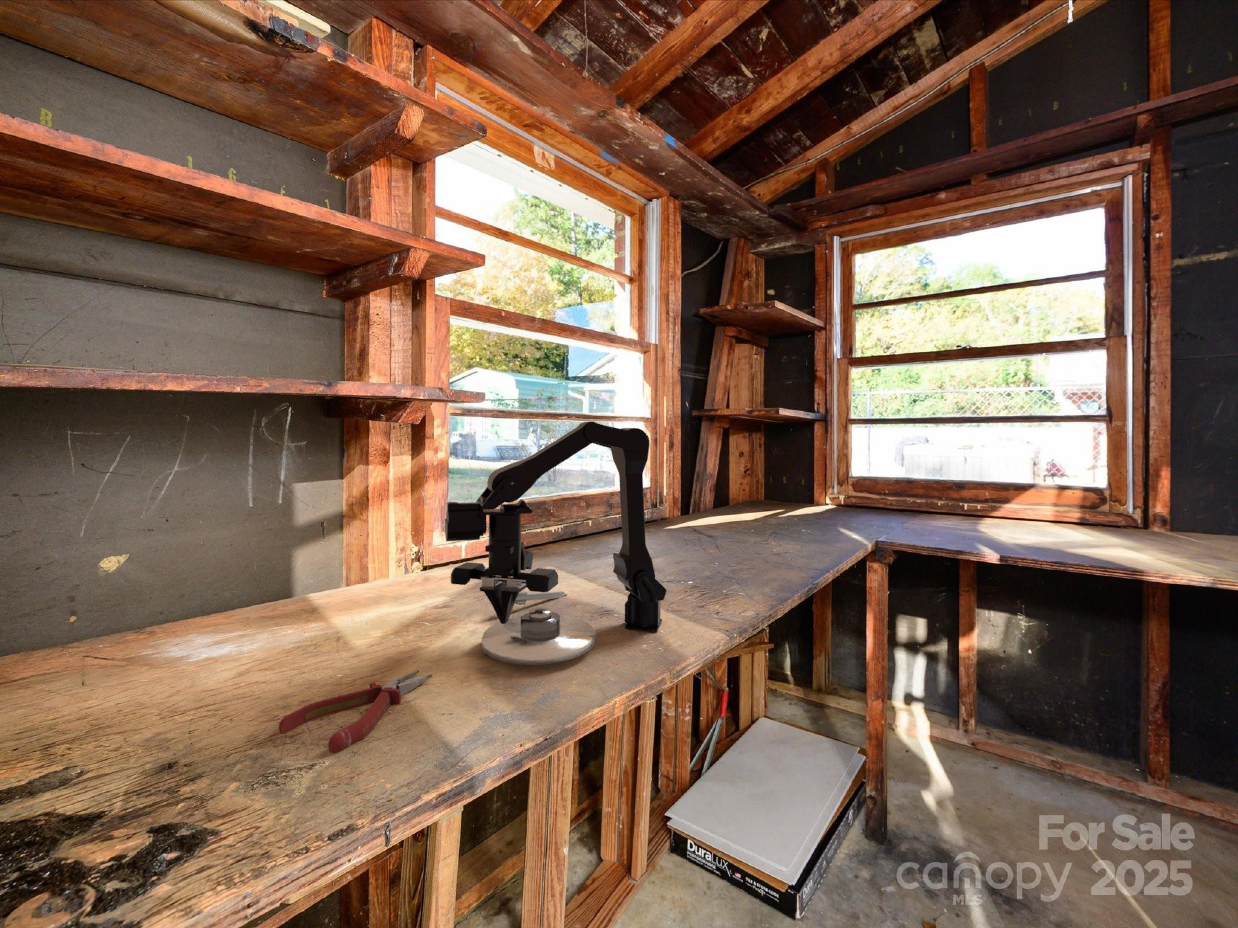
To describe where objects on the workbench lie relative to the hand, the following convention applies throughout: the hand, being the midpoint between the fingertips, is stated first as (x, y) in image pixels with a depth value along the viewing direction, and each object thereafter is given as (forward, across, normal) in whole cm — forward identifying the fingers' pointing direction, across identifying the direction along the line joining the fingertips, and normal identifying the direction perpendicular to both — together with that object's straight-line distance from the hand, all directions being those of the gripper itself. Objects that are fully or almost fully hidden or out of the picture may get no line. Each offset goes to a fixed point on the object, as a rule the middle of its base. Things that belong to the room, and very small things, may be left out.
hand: (504, 623), depth 98 cm
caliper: (+4, +3, -22) cm, 23 cm away
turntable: (+3, -7, 0) cm, 7 cm away
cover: (+1, -7, 0) cm, 7 cm away
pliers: (+5, +7, +27) cm, 28 cm away
